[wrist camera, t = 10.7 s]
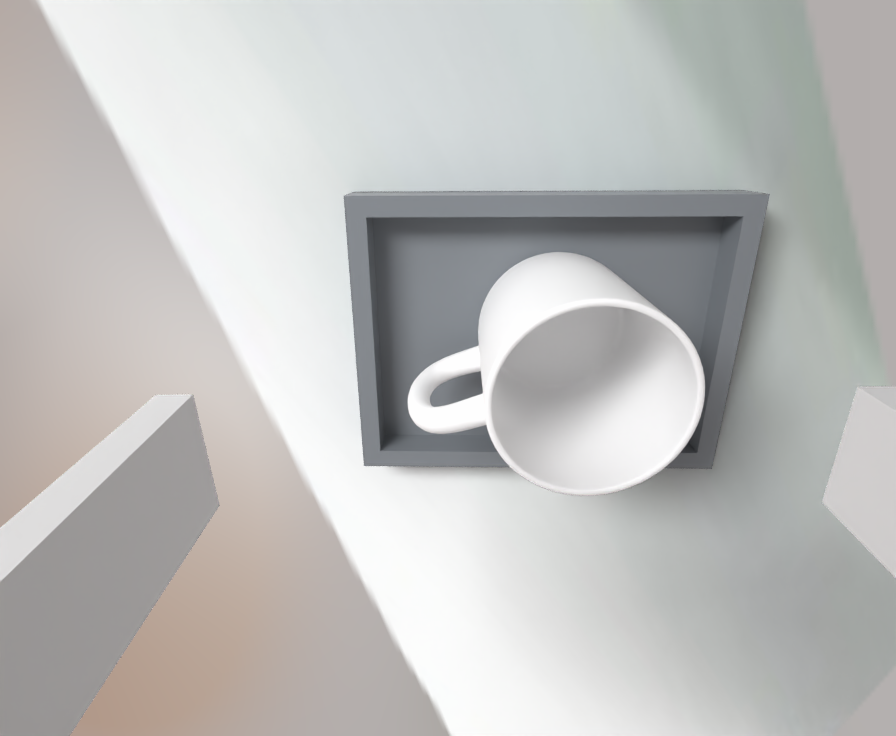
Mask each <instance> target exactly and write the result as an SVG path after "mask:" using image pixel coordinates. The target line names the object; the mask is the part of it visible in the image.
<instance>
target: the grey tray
mask: <svg viewBox="0 0 896 736" xmlns="http://www.w3.org/2000/svg"><path fill="white" fill-rule="evenodd" d="M769 195H770V194H765V193H758V192H752V191H745V190H692V191H443V192H352V193H349V194H347V195H345V196H344V205H345V219H346V232H347V245H348V259H349V272H350V285H351V299H352V312H353V325H354V338H355V352H356V365H357V378H358V392H359V405H360V418H361V432H362V445H363V458H364V466H441V467H510V466H509V465H508V464H507V463H506V462H505V461H504V460H503V458H502V457H501V456H500V454H499V453H498V451H497V450H496V448H495V446H494V444H493V442H492V440H491V438H490V435H489V433H488V430H487V425H484V426H480V427H476V428H473V429H469V430H465V431H460V432H455V433H447V434H437V433H430V432H427V431H424V430H423V429H421V428H420V427H418V426H417V425H416V424H415V423H414V422H413V420H412V418H411V417H410V414H409V410H408V395H409V391H410V388H411V386H412V384H413V382H414V380H415V379H416V378H417V377H418V376H419V374H420V373H421V372H423V371H424V370H425V369H426V368H427V367H429V366H430V365H432V364H433V363H435V362H437V361H439V360H441V359H443V358H445V357H447V356H450V355H452V354H455V353H458V352H461V351H464V350H467V349H470V348H473V347H476V346H478V345H479V341H478V326H479V317H480V313H481V309H482V306H483V303H484V301H485V299H486V297H487V295H488V293H489V291H490V290H491V288H492V287H493V285H494V284H495V283H496V281H497V280H498V279H499V278H500V277H501V276H502V275H503V274H504V273H505V272H506V271H508V270H509V269H510V268H512V267H513V266H514V265H516V264H518V263H519V262H521V261H523V260H525V259H528V258H530V257H533V256H536V255H540V254H544V253H551V252H568V253H574V254H579V255H583V256H586V257H589V258H591V259H593V260H595V261H597V262H599V263H601V264H602V265H604V266H605V267H607V268H608V269H610V270H611V271H612V272H613V273H615V274H616V275H617V276H618V277H619V278H621V279H622V280H623V281H624V282H626V283H627V284H628V285H629V286H630V287H632V288H633V289H634V290H635V291H637V292H638V293H639V294H640V295H641V296H643V297H644V298H645V299H646V300H648V301H649V302H650V303H651V304H653V305H654V306H655V307H656V308H657V309H659V310H660V311H661V312H662V313H664V314H665V315H666V316H667V317H668V318H670V319H671V320H672V321H673V322H674V323H676V324H677V325H678V326H679V327H680V328H681V329H682V330H683V331H684V332H685V334H686V335H687V336H688V337H689V339H690V340H691V342H692V343H693V345H694V347H695V348H696V351H697V353H698V355H699V357H700V360H701V364H702V367H703V372H704V377H705V398H704V405H703V409H702V413H701V417H700V419H699V422H698V425H697V427H696V429H695V431H694V433H693V435H692V437H691V438H690V440H689V442H688V443H687V444H686V446H685V447H684V448H683V450H682V451H681V452H680V453H679V454H678V456H677V457H676V458H675V459H674V460H673V461H672V462H671V463H669V464H668V465H667V466H666V467H665V468H706V469H712V466H713V461H714V456H715V451H716V447H717V442H718V437H719V432H720V428H721V423H722V418H723V413H724V409H725V404H726V399H727V394H728V390H729V385H730V380H731V375H732V371H733V366H734V361H735V356H736V352H737V347H738V342H739V337H740V333H741V328H742V323H743V318H744V314H745V309H746V304H747V299H748V295H749V290H750V285H751V280H752V276H753V271H754V266H755V261H756V257H757V252H758V247H759V242H760V238H761V233H762V228H763V223H764V219H765V214H766V209H767V204H768V200H769ZM482 393H483V387H482V378H481V371H479V372H474V373H470V374H466V375H462V376H459V377H455V378H453V379H450V380H448V381H446V382H444V383H442V384H440V385H439V386H437V387H436V388H435V389H434V390H433V392H432V394H431V396H430V403H431V405H432V406H433V407H439V406H445V405H449V404H452V403H455V402H459V401H462V400H465V399H468V398H471V397H474V396H477V395H480V394H482Z"/></svg>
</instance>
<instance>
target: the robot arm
mask: <svg viewBox="0 0 896 736" xmlns="http://www.w3.org/2000/svg"><path fill="white" fill-rule="evenodd" d="M822 503H823V504H824V505H825V506H826V507H827V508H828V509H829V510H830V511H831V512H832V513H833V514H834V516H835V517H836V518H837V519H838V520H839V521H840V522H841V523H842V524H843V525H844V526H845V527H846V528H847V529H848V530H849V531H850V532H851V533H852V534H853V535H854V536H855V537H856V538H857V539H858V540H859V541H860V542H861V543H862V544H863V545H864V546H865V547H866V548H867V549H868V550H869V551H870V552H871V553H872V555H873V556H874V557H875V558H876V559H877V560H878V561H879V562H880V563H881V564H882V565H883V566H884V567H885V568H886V569H887V570H888V571H889V572H890V573H891V574H892V575H893V576H894V577H895V578H896V386H862V387H857V390H856V393H855V396H854V400H853V403H852V406H851V409H850V412H849V416H848V419H847V422H846V425H845V429H844V432H843V435H842V438H841V441H840V445H839V448H838V451H837V454H836V458H835V461H834V464H833V467H832V471H831V474H830V477H829V480H828V483H827V487H826V490H825V493H824V496H823V500H822ZM218 507H219V501H218V497H217V493H216V488H215V484H214V480H213V476H212V472H211V467H210V464H209V459H208V455H207V451H206V446H205V443H204V438H203V435H202V430H201V426H200V422H199V417H198V413H197V409H196V405H195V401H194V396H193V394H189V395H188V394H186V395H185V394H184V395H183V394H182V395H155V396H154V397H153V398H152V399H150V400H149V401H148V402H147V403H146V404H145V405H143V406H142V407H141V408H140V409H139V410H138V411H136V412H135V413H134V414H133V415H132V416H130V417H129V418H128V419H127V420H126V421H125V422H123V423H122V424H121V425H120V426H119V427H118V428H116V429H115V430H114V431H113V432H112V433H111V434H110V435H108V436H107V437H106V438H105V439H104V440H103V441H101V442H100V443H99V444H98V445H97V446H95V447H94V448H93V449H92V450H91V451H90V452H88V453H87V454H86V455H85V456H84V457H83V458H81V459H80V460H79V461H78V462H77V463H76V464H74V465H73V466H72V467H71V468H70V469H69V470H67V471H66V472H65V473H64V474H63V475H62V476H60V477H59V478H58V479H57V480H56V481H54V483H52V484H51V485H50V486H49V487H48V488H47V489H45V490H44V491H43V492H42V493H40V494H39V495H38V496H37V497H36V498H35V499H33V500H32V501H31V502H30V503H29V504H28V505H26V506H25V507H24V508H23V509H22V510H21V511H19V512H18V513H17V514H16V515H15V516H14V517H13V518H11V519H10V520H9V521H8V522H7V523H5V524H4V525H3V526H2V527H1V528H0V736H70V734H71V733H72V731H73V730H74V728H75V727H76V725H77V724H78V722H79V721H80V719H81V718H82V716H83V714H84V713H85V711H86V710H87V708H88V707H89V705H90V704H91V702H92V701H93V699H94V698H95V696H96V695H97V693H98V691H99V690H100V688H101V687H102V685H103V684H104V682H105V680H106V679H107V678H108V676H109V674H110V673H111V671H112V670H113V668H114V667H115V665H116V664H117V662H118V660H119V659H120V658H121V656H122V655H123V653H124V651H125V650H126V648H127V647H128V645H129V644H130V642H131V641H132V639H133V638H134V636H135V634H136V633H137V631H138V630H139V628H140V627H141V625H142V624H143V622H144V621H145V619H146V618H147V616H148V615H149V613H150V612H151V610H152V608H153V607H154V605H155V604H156V602H157V601H158V599H159V598H160V596H161V595H162V593H163V592H164V590H165V588H166V587H167V585H168V584H169V582H170V581H171V579H172V577H173V576H174V575H175V573H176V572H177V570H178V568H179V567H180V565H181V564H182V562H183V561H184V559H185V558H186V556H187V555H188V553H189V552H190V550H191V549H192V547H193V545H194V544H195V542H196V541H197V539H198V538H199V536H200V535H201V533H202V532H203V530H204V529H205V527H206V525H207V524H208V522H209V521H210V519H211V518H212V516H213V515H214V513H215V511H216V510H217V508H218Z"/></svg>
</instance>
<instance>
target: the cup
mask: <svg viewBox="0 0 896 736" xmlns="http://www.w3.org/2000/svg"><path fill="white" fill-rule="evenodd" d="M478 341H479V345H478V346H476V347H473V348H470V349H467V350H464V351H461V352H458V353H455V354H452V355H450V356H447V357H445V358H443V359H441V360H439V361H437V362H435V363H433V364H432V365H430V366H429V367H427V368H426V369H425V370H424V371H423V372H421V373H420V374H419V376H418V377H417V378H416V379H415V380H414V382H413V384H412V386H411V388H410V391H409V395H408V410H409V414H410V417H411V418H412V420H413V422H414V423H415V424H416V425H417V426H418V427H420V428H421V429H423V430H424V431H427V432H430V433H437V434H447V433H455V432H460V431H465V430H469V429H473V428H476V427H480V426H484V425H487V430H488V433H489V435H490V438H491V440H492V442H493V444H494V446H495V448H496V450H497V451H498V453H499V454H500V456H501V457H502V458H503V460H504V461H505V462H506V463H507V464H508V465H509V466H510V467H511V468H512V469H513V470H514V471H515V472H517V473H518V474H519V475H520V476H522V477H523V478H525V479H526V480H528V481H530V482H532V483H533V484H535V485H537V486H540V487H542V488H544V489H547V490H550V491H553V492H558V493H562V494H568V495H578V496H594V495H603V494H609V493H614V492H617V491H621V490H624V489H627V488H630V487H633V486H635V485H637V484H639V483H642V482H643V481H645V480H647V479H649V478H651V477H652V476H654V475H655V474H657V473H658V472H660V471H661V470H662V469H664V468H665V467H666V466H667V465H668V464H669V463H671V462H672V461H673V460H674V459H675V458H676V457H677V456H678V454H679V453H680V452H681V451H682V450H683V448H684V447H685V446H686V444H687V443H688V442H689V440H690V438H691V437H692V435H693V433H694V431H695V429H696V427H697V425H698V422H699V419H700V417H701V413H702V409H703V405H704V398H705V377H704V372H703V367H702V364H701V360H700V357H699V355H698V353H697V351H696V348H695V347H694V345H693V343H692V342H691V340H690V339H689V337H688V336H687V335H686V334H685V332H684V331H683V330H682V329H681V328H680V327H679V326H678V325H677V324H676V323H674V322H673V321H672V320H671V319H670V318H668V317H667V316H666V315H665V314H664V313H662V312H661V311H660V310H659V309H657V308H656V307H655V306H654V305H653V304H651V303H650V302H649V301H648V300H646V299H645V298H644V297H643V296H641V295H640V294H639V293H638V292H637V291H635V290H634V289H633V288H632V287H630V286H629V285H628V284H627V283H626V282H624V281H623V280H622V279H621V278H619V277H618V276H617V275H616V274H615V273H613V272H612V271H611V270H610V269H608V268H607V267H605V266H604V265H602V264H601V263H599V262H597V261H595V260H593V259H591V258H589V257H586V256H583V255H579V254H574V253H568V252H551V253H544V254H540V255H536V256H533V257H530V258H528V259H525V260H523V261H521V262H519V263H518V264H516V265H514V266H513V267H512V268H510V269H509V270H508V271H506V272H505V273H504V274H503V275H502V276H501V277H500V278H499V279H498V280H497V281H496V283H495V284H494V285H493V287H492V288H491V290H490V291H489V293H488V295H487V297H486V299H485V301H484V303H483V306H482V309H481V313H480V317H479V326H478ZM479 371H481V378H482V387H483V393H482V394H480V395H477V396H474V397H471V398H468V399H465V400H462V401H459V402H455V403H452V404H449V405H445V406H439V407H433V406H432V405H431V403H430V396H431V394H432V392H433V390H434V389H435V388H436V387H437V386H439V385H440V384H442V383H444V382H446V381H448V380H450V379H453V378H455V377H459V376H462V375H466V374H470V373H474V372H479Z"/></svg>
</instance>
